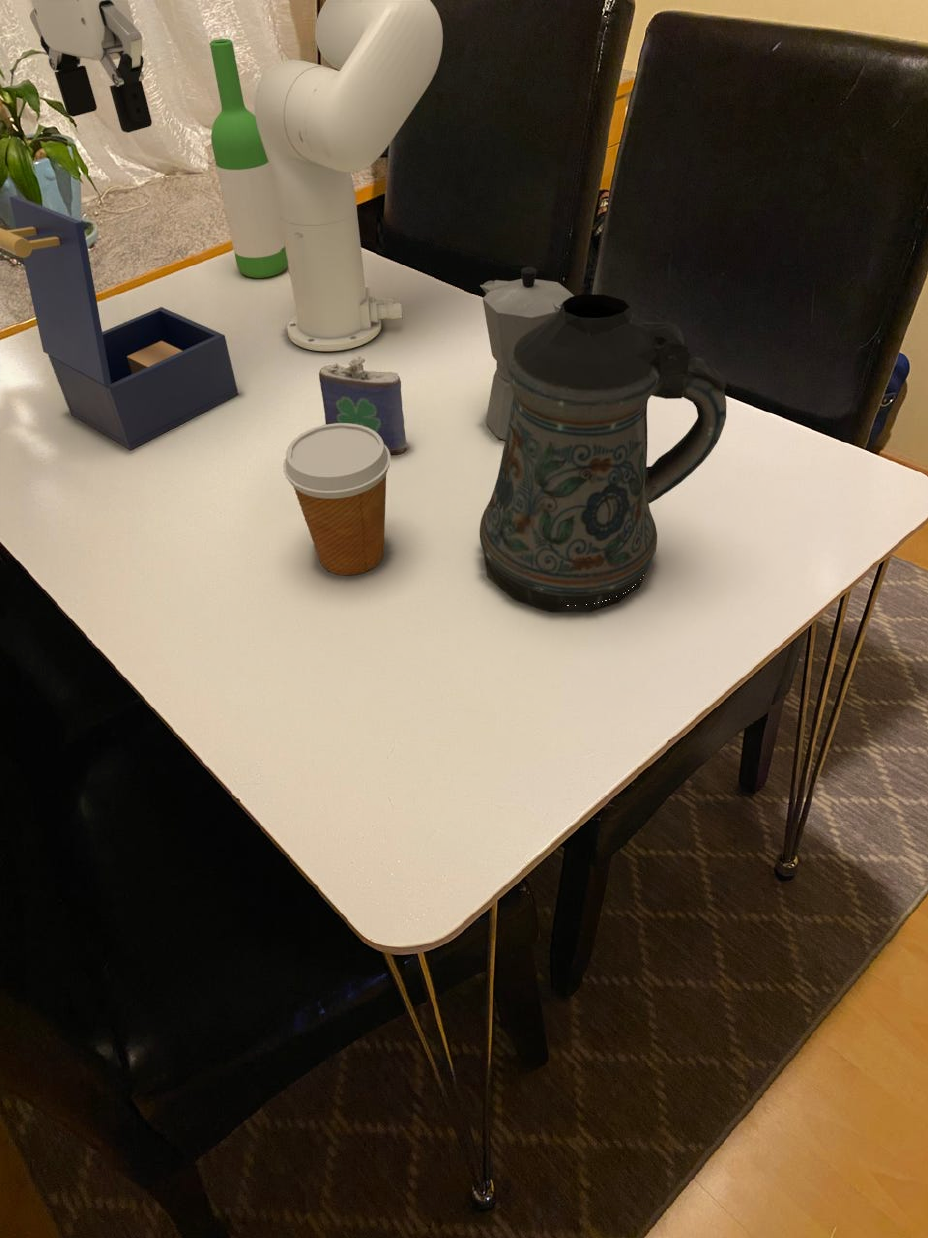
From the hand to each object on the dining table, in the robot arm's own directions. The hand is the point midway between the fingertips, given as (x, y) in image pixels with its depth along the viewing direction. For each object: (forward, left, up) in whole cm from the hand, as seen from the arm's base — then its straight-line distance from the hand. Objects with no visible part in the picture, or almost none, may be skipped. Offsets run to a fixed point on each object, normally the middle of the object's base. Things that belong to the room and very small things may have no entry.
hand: (109, 120), depth 90 cm
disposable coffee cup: (-22, +34, -31) cm, 51 cm away
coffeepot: (-42, +13, -31) cm, 53 cm away
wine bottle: (-6, -36, -31) cm, 48 cm away
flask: (-23, +15, -31) cm, 41 cm away
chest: (+3, +3, -30) cm, 31 cm away
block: (+2, +2, -30) cm, 30 cm away
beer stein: (-44, +36, -31) cm, 65 cm away
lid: (+7, +7, -14) cm, 17 cm away
